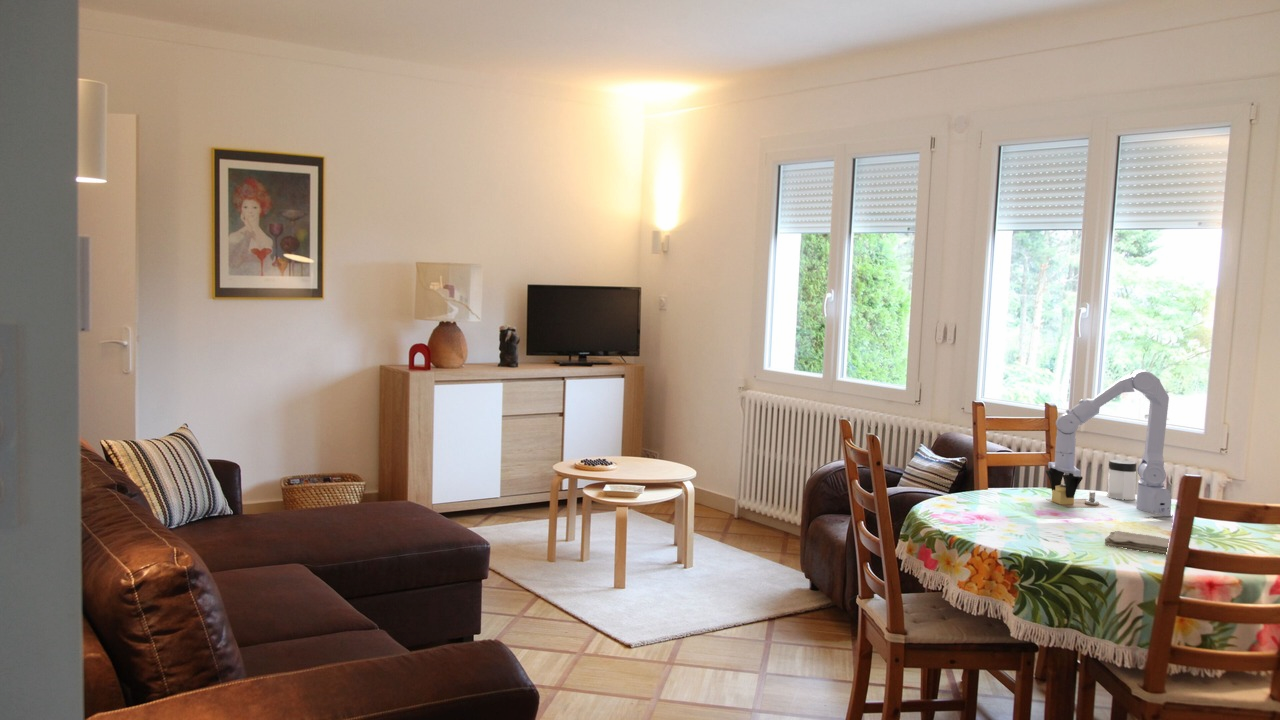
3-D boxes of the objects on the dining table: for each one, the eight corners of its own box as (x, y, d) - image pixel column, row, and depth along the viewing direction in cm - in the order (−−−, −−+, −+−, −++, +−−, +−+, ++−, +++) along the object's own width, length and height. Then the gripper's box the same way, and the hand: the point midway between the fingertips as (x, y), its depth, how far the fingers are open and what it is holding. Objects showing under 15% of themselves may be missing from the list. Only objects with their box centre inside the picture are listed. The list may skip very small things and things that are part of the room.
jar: (1105, 494, 321) (1107, 458, 320) (1132, 496, 318) (1134, 460, 318) (1108, 499, 313) (1110, 462, 312) (1136, 501, 310) (1138, 464, 309)
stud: (1101, 505, 297) (1102, 493, 297) (1089, 505, 296) (1090, 493, 296) (1093, 502, 301) (1094, 490, 301) (1082, 502, 300) (1082, 490, 300)
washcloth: (1110, 538, 262) (1111, 527, 262) (1185, 549, 252) (1186, 538, 252) (1103, 547, 252) (1103, 536, 252) (1180, 559, 242) (1181, 547, 242)
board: (1109, 510, 295) (1109, 507, 295) (1067, 511, 293) (1067, 507, 293) (1085, 502, 307) (1085, 498, 307) (1045, 503, 305) (1045, 499, 305)
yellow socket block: (1073, 503, 299) (1074, 486, 298) (1060, 504, 298) (1061, 486, 298) (1065, 500, 303) (1065, 483, 303) (1051, 500, 302) (1052, 483, 302)
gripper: (1040, 448, 306) (1038, 490, 307) (1067, 456, 292) (1064, 500, 293) (1060, 448, 307) (1058, 490, 308) (1088, 456, 293) (1085, 499, 294)
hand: (1062, 494), depth 300 cm, fingers open, 7 cm apart
